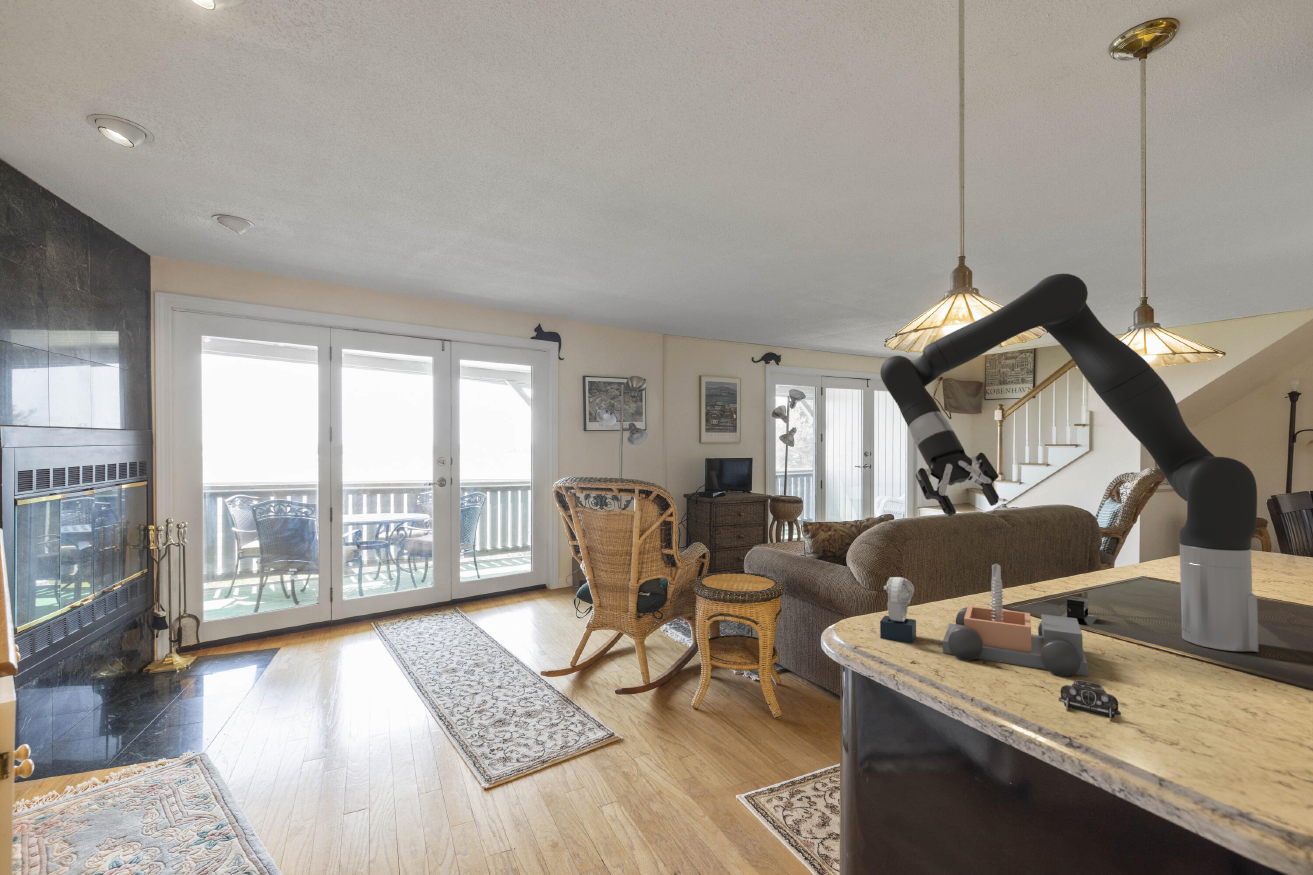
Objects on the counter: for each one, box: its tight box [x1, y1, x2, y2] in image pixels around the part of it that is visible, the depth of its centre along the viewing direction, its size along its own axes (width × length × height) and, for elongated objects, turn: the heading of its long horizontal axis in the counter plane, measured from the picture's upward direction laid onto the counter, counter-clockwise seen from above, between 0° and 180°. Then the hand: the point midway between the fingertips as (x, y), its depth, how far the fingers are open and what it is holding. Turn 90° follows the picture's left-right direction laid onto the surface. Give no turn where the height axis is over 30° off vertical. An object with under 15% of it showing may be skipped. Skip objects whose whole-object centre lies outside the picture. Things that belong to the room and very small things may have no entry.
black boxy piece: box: [1060, 595, 1099, 627], centre depth 119 cm, size 12×7×5 cm, turn 134°
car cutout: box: [1058, 679, 1134, 732], centre depth 74 cm, size 15×7×4 cm, turn 49°
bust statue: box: [879, 576, 917, 644], centre depth 108 cm, size 6×8×11 cm
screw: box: [990, 563, 1004, 623], centre depth 101 cm, size 13×5×5 cm
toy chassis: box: [942, 605, 1089, 677], centre depth 99 cm, size 20×16×6 cm
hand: (974, 509), depth 112 cm, fingers open, 8 cm apart
